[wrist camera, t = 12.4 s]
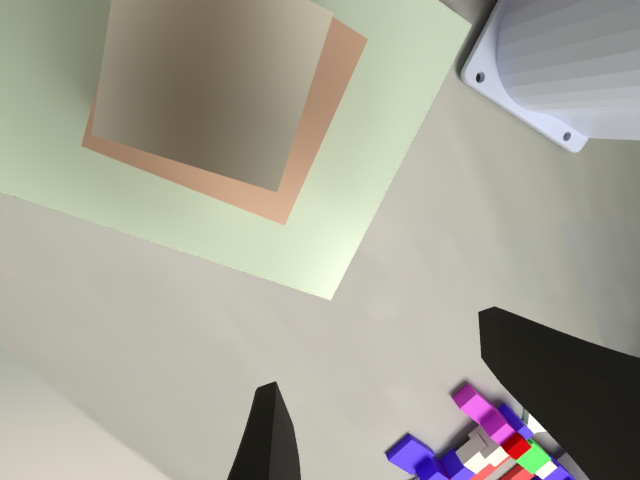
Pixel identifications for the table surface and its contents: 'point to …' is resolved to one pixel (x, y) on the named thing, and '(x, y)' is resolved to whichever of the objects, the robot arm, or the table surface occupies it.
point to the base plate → (194, 207)
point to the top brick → (210, 81)
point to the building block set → (487, 448)
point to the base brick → (314, 123)
